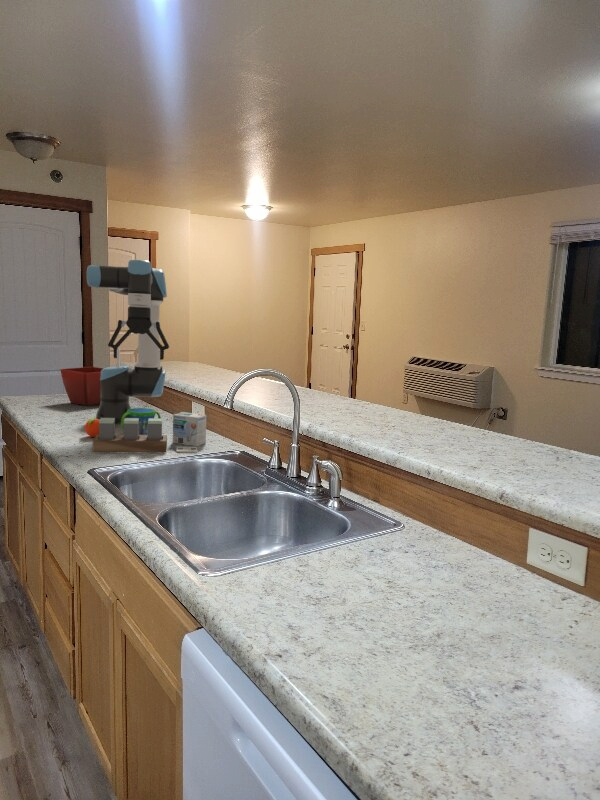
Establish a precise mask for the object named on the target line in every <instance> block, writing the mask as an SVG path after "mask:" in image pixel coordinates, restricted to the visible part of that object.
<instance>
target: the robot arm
mask: <svg viewBox="0 0 600 800" xmlns="http://www.w3.org/2000/svg"><path fill="white" fill-rule="evenodd" d="M151 263H152V262H150V261H149V260H145V259H130V260H129V261H128V264H127V266H114V265H113V266H110V265H100V264H92V265H88V266H87V269H86V283H87V286H88V287H91V288H100V289H101V288H103V289H106V290H107V291H109V292H112V293H116V294H119V295H124V296H127V304H128V307H127V320H123V319H119V320H118V321H117V325H116V328H115V330H114V332H113V334H112V336H111V338H110V339H109V342H108V344H107V346H108V347H109V348H112V349H113V358H114V359H116V365H115V366H109V367H105V368H104V367H103V368H104V369H102V370H101V377H100V382H101V402H100V404H99V407H98V409H97V412H96V415H95V419H99V420H100V419H101V418H115V424H121V419H122V416H123V415H124V413H126V412H127V410H128V409H132V407H131V405H130V397H133V398H134V397H137V398H138V397H143V398H146V397H147V398H157V397H161V396H162V395H163V391H164V385H165V381H166V380H165V379H166V375H167V374H166V372H167V371H166V370H165V369H163V365H162V364H161V361H162V360H164V358H165V350H169V348H170V345H169V343H168V340H167V339H166V337H165V334H164V332H163V330H162V328H161V322H160V306H161V304H162V303H163V302H164V298H167V297H168V293H167V284H166V283H167V282H166V277H165V272H164V270H162V269H161V268H154V267H152V264H151ZM125 325H126V326H127V327H128V329H127V331H126V332H125V333H124V334H123V336H121V337H120V338H119V340H118V341H117V342H116V343H115V341H116V339H117V338H118V336H119V334H120V332H121V330H122V328H123V327H125ZM131 334H134V335H135V334H136V335H138V339H137V340H138V343H137V347H138V350H137V351H138V352H137V354H138V355H137V362H136V363H135V364H134V368H133V369H132V368H131V369H130V366H129V365H121V348H119V347H120V346H121V345H122V344H123V343H124V342H125V340H127V338H128V337H129V336H130V335H131ZM160 340H161V342H162V343H163V345H162V344H161V342H160ZM125 418H128V415H127V416H126V417H125Z"/></svg>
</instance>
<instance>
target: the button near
mask: <svg viewBox="0 0 600 800" xmlns="http://www.w3.org/2000/svg"><path fill="white" fill-rule="evenodd" d="M115 435H116V423H115V418H101V419H100V420H99V439H114V438H115Z"/></svg>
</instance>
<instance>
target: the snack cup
mask: <svg viewBox="0 0 600 800" xmlns="http://www.w3.org/2000/svg"><path fill="white" fill-rule="evenodd" d="M127 415H128V418H139V435H148V419H149V418H155V417H156V415H157V417H158V419H162V416H161V414H160V413H159V412H158V411H156V409H153V408H149V407H148V408H146V407H137V408H135V407H134V408H131V409H128V410H127V412H126V413H124V415H123V416H122V419H121V423H120V426H121V429H122V430H124V419H125V417H126V416H127Z"/></svg>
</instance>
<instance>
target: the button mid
mask: <svg viewBox="0 0 600 800" xmlns="http://www.w3.org/2000/svg"><path fill="white" fill-rule="evenodd" d="M123 435H124V440H138V438H139V418H125V419H124V429H123Z"/></svg>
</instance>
